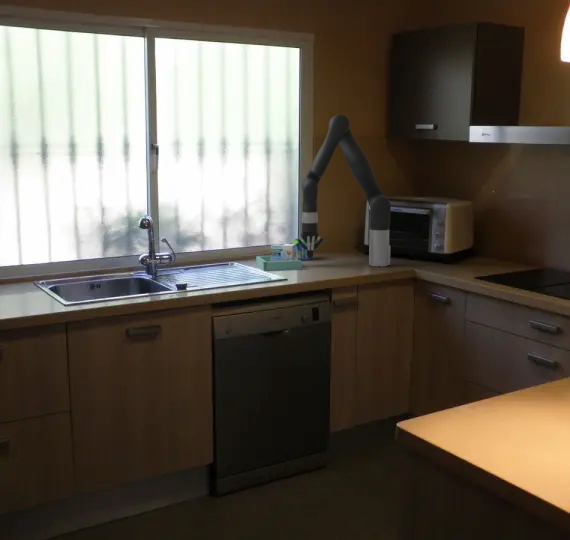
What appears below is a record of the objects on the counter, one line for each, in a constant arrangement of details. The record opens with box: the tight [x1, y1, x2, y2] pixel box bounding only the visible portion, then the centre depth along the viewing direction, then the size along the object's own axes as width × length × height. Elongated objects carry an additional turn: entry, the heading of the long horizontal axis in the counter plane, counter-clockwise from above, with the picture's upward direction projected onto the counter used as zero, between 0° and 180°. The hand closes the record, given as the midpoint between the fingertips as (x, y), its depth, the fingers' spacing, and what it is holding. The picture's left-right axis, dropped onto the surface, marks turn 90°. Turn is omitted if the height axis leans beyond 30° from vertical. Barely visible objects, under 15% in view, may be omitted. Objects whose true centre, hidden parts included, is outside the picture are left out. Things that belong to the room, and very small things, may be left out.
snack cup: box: [292, 237, 318, 261], centre depth 377 cm, size 16×10×10 cm
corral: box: [255, 255, 303, 272], centre depth 356 cm, size 18×18×4 cm
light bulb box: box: [270, 242, 296, 261], centre depth 356 cm, size 11×7×11 cm, turn 78°
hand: (309, 257), depth 359 cm, fingers closed
